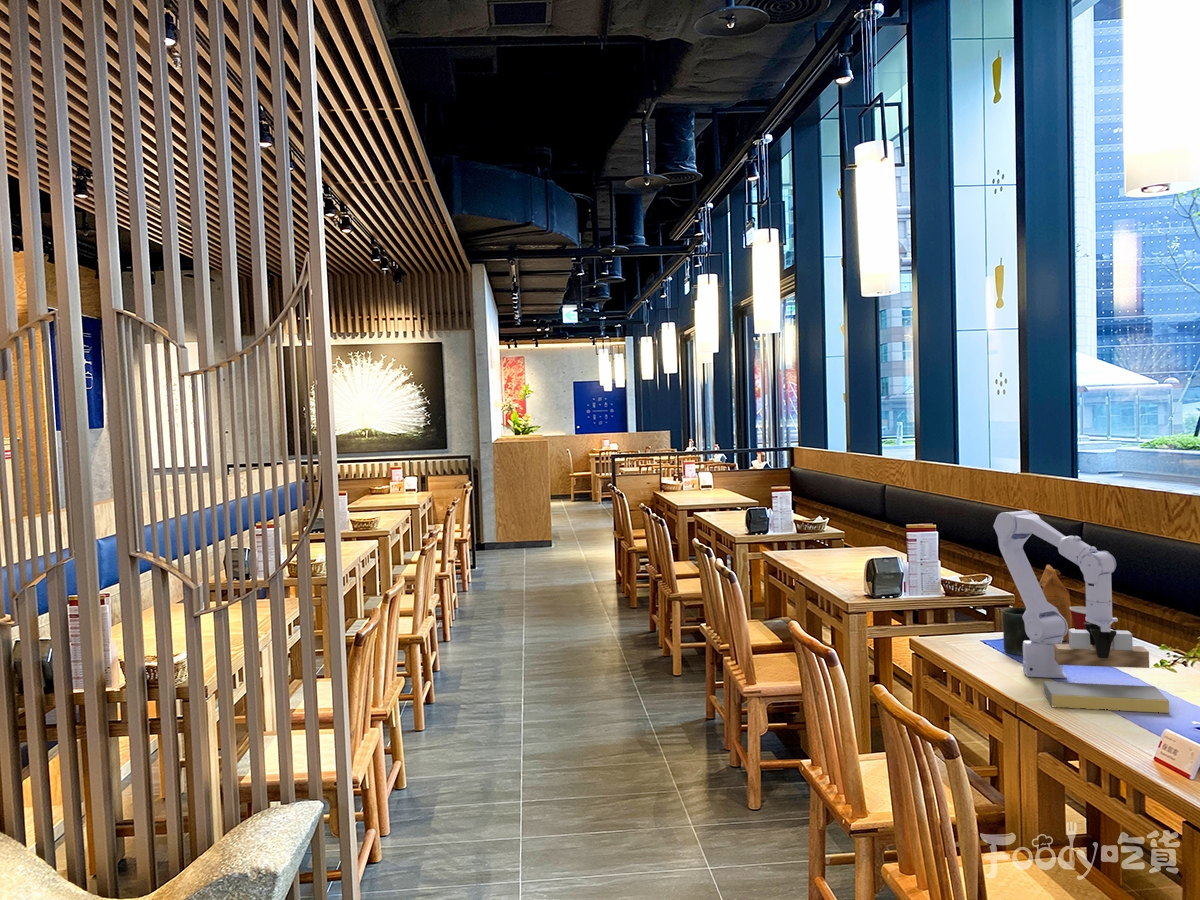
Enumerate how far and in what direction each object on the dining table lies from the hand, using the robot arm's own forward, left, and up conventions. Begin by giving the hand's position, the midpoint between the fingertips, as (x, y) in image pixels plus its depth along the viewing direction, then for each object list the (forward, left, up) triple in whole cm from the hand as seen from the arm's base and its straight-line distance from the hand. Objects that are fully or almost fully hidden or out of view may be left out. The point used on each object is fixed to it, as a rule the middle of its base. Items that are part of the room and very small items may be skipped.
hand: (1100, 654), depth 226 cm
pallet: (0, 0, -2) cm, 2 cm away
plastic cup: (+6, +41, -9) cm, 42 cm away
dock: (-2, -13, -8) cm, 16 cm away
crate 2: (+5, 0, +2) cm, 5 cm away
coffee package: (-2, +55, -9) cm, 56 cm away
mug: (-13, +37, -9) cm, 40 cm away
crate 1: (-5, 0, +2) cm, 5 cm away
